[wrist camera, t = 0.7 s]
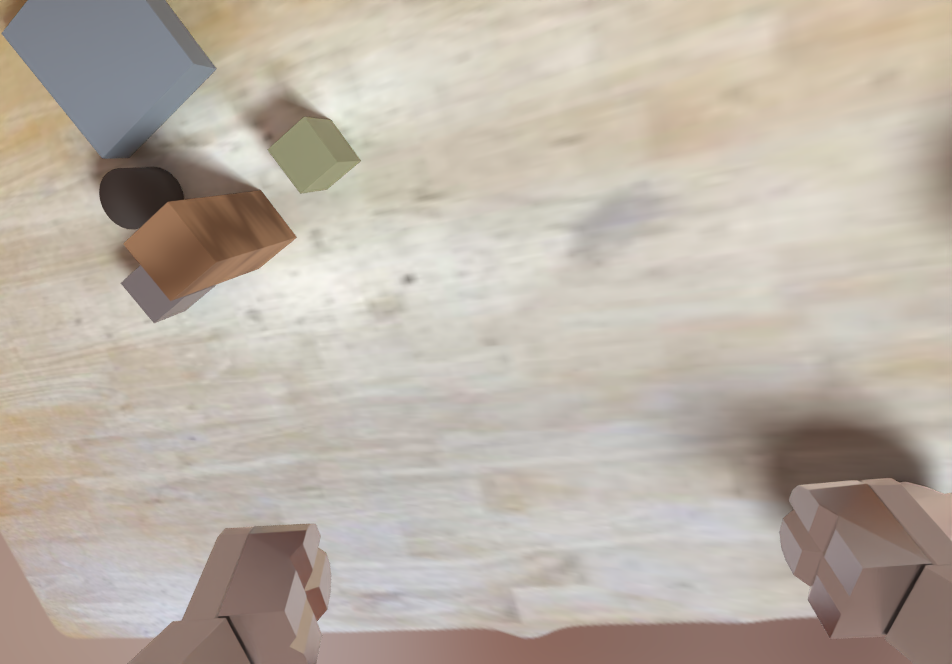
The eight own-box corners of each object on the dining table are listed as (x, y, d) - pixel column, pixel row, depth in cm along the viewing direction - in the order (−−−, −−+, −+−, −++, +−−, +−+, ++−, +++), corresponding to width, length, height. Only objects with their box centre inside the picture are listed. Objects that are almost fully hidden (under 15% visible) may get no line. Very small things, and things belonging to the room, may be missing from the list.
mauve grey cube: (155, 273, 54) (120, 283, 50) (185, 246, 52) (151, 254, 48) (186, 310, 54) (154, 323, 50) (216, 285, 53) (185, 296, 49)
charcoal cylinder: (131, 164, 51) (96, 165, 47) (182, 170, 50) (150, 172, 46) (136, 220, 52) (102, 225, 49) (186, 226, 52) (155, 232, 48)
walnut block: (223, 223, 51) (123, 243, 40) (260, 190, 49) (167, 201, 38) (258, 268, 52) (170, 301, 40) (296, 237, 50) (216, 262, 39)
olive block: (297, 150, 48) (267, 149, 43) (331, 120, 47) (304, 116, 42) (326, 189, 48) (300, 193, 44) (361, 160, 47) (337, 161, 43)
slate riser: (34, 40, 49) (1, 33, 46) (118, -62, 45) (88, -77, 42) (128, 158, 50) (102, 158, 48) (216, 68, 47) (193, 63, 44)
